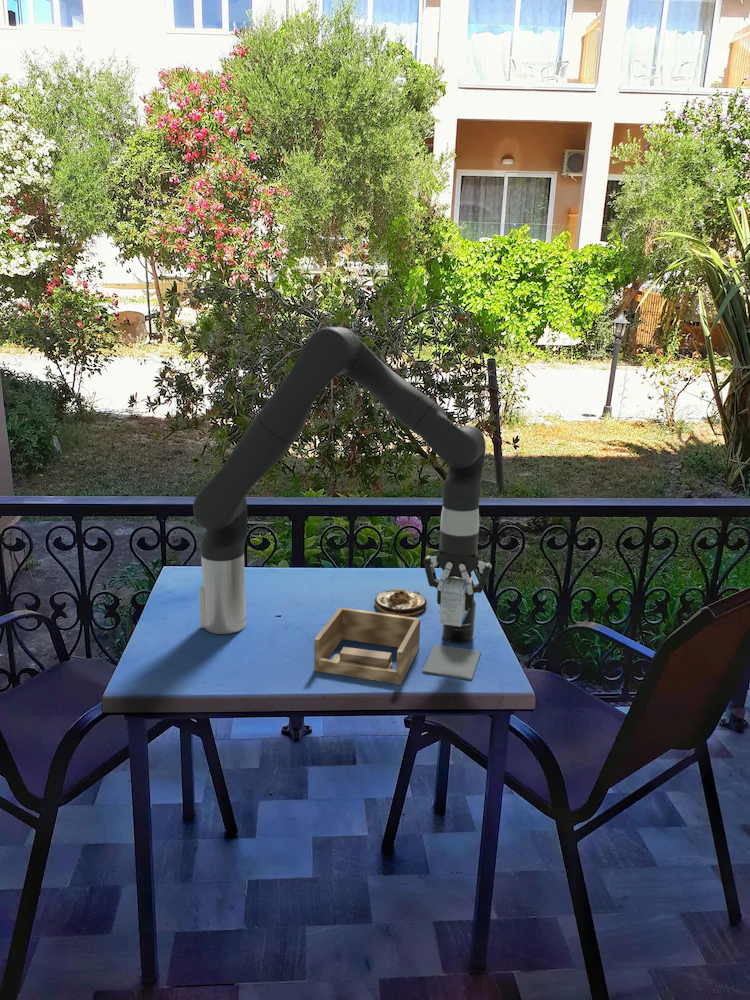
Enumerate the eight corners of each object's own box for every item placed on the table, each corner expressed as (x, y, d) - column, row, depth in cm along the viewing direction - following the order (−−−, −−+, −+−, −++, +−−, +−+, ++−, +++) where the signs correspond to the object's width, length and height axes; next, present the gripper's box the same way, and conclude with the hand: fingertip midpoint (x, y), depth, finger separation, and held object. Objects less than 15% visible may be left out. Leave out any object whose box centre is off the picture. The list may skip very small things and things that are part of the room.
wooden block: (330, 669, 163) (330, 651, 161) (336, 661, 166) (336, 644, 164) (388, 678, 160) (388, 660, 158) (392, 670, 163) (392, 653, 161)
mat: (422, 672, 162) (422, 670, 162) (434, 646, 173) (434, 644, 173) (471, 680, 160) (471, 678, 159) (480, 653, 171) (481, 651, 171)
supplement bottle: (461, 647, 173) (464, 595, 170) (436, 637, 177) (438, 587, 174) (479, 636, 178) (482, 586, 175) (454, 627, 182) (457, 578, 179)
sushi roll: (426, 624, 184) (426, 607, 183) (363, 617, 188) (363, 600, 186) (436, 599, 198) (437, 583, 197) (377, 592, 201) (378, 577, 200)
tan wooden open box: (314, 670, 162) (314, 639, 160) (339, 636, 177) (339, 607, 175) (400, 684, 157) (401, 652, 155) (419, 648, 172) (420, 618, 170)
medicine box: (461, 627, 159) (463, 587, 157) (439, 624, 161) (441, 584, 158) (468, 611, 166) (471, 573, 164) (447, 608, 168) (449, 570, 165)
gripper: (419, 530, 156) (416, 610, 161) (493, 538, 153) (487, 620, 158) (427, 518, 163) (424, 596, 168) (498, 526, 159) (492, 605, 164)
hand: (455, 607), depth 163 cm, fingers closed on medicine box, 4 cm apart
